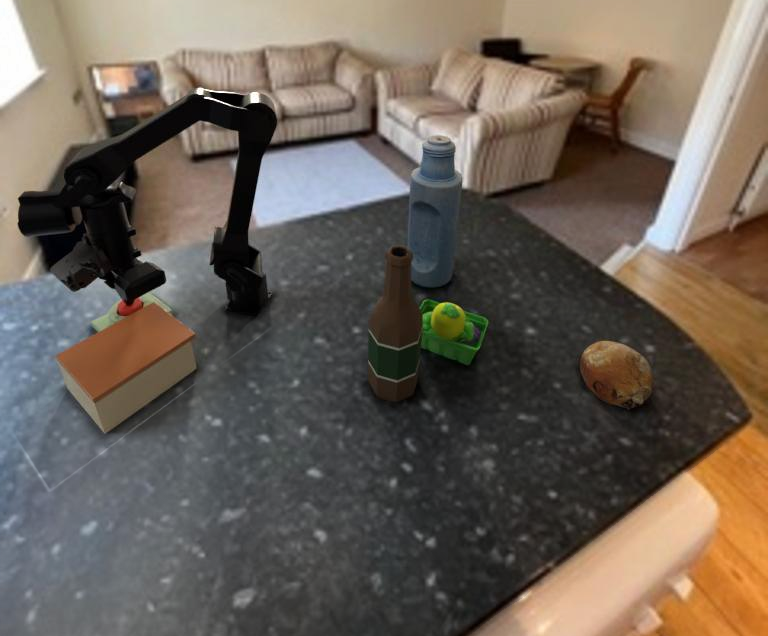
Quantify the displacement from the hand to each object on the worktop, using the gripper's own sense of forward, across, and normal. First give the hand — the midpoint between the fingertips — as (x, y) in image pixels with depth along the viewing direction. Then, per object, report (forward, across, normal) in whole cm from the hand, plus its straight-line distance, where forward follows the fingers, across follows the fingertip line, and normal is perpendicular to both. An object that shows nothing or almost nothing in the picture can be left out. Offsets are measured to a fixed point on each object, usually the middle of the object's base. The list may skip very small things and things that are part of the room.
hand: (129, 303), depth 77 cm
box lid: (-2, +12, -6) cm, 13 cm away
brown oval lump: (+4, +71, +38) cm, 80 cm away
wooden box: (+4, +12, -6) cm, 14 cm away
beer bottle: (+4, +44, +18) cm, 47 cm away
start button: (+2, 0, 0) cm, 2 cm away
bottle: (+4, +34, +44) cm, 56 cm away
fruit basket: (+4, +47, +28) cm, 55 cm away
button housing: (+4, 0, 0) cm, 4 cm away
